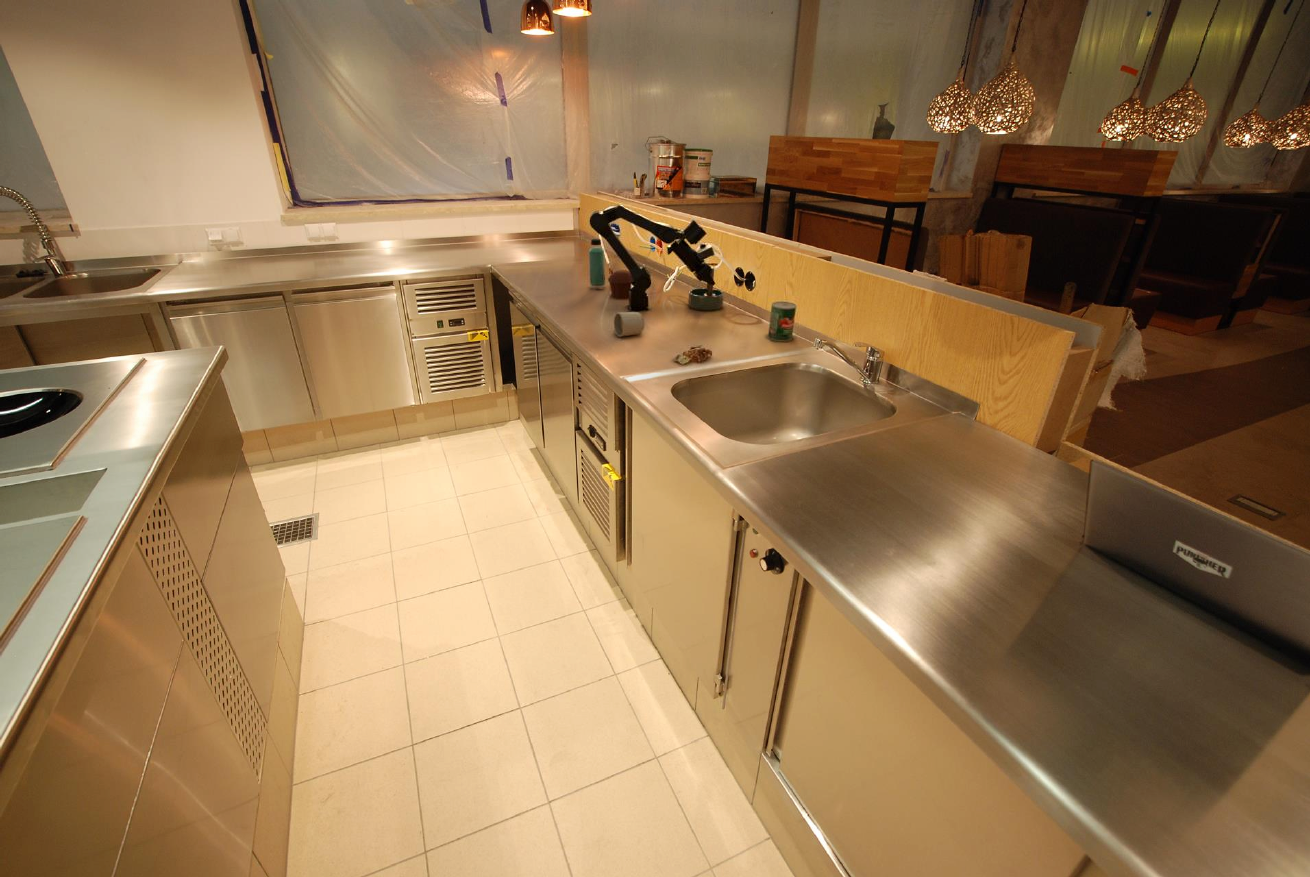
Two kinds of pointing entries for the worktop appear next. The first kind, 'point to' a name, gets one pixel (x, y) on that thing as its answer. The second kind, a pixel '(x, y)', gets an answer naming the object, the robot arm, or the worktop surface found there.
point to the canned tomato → (782, 321)
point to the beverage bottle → (596, 264)
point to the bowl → (705, 299)
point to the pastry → (694, 354)
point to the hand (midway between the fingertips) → (713, 283)
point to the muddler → (710, 286)
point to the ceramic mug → (628, 323)
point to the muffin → (620, 284)
